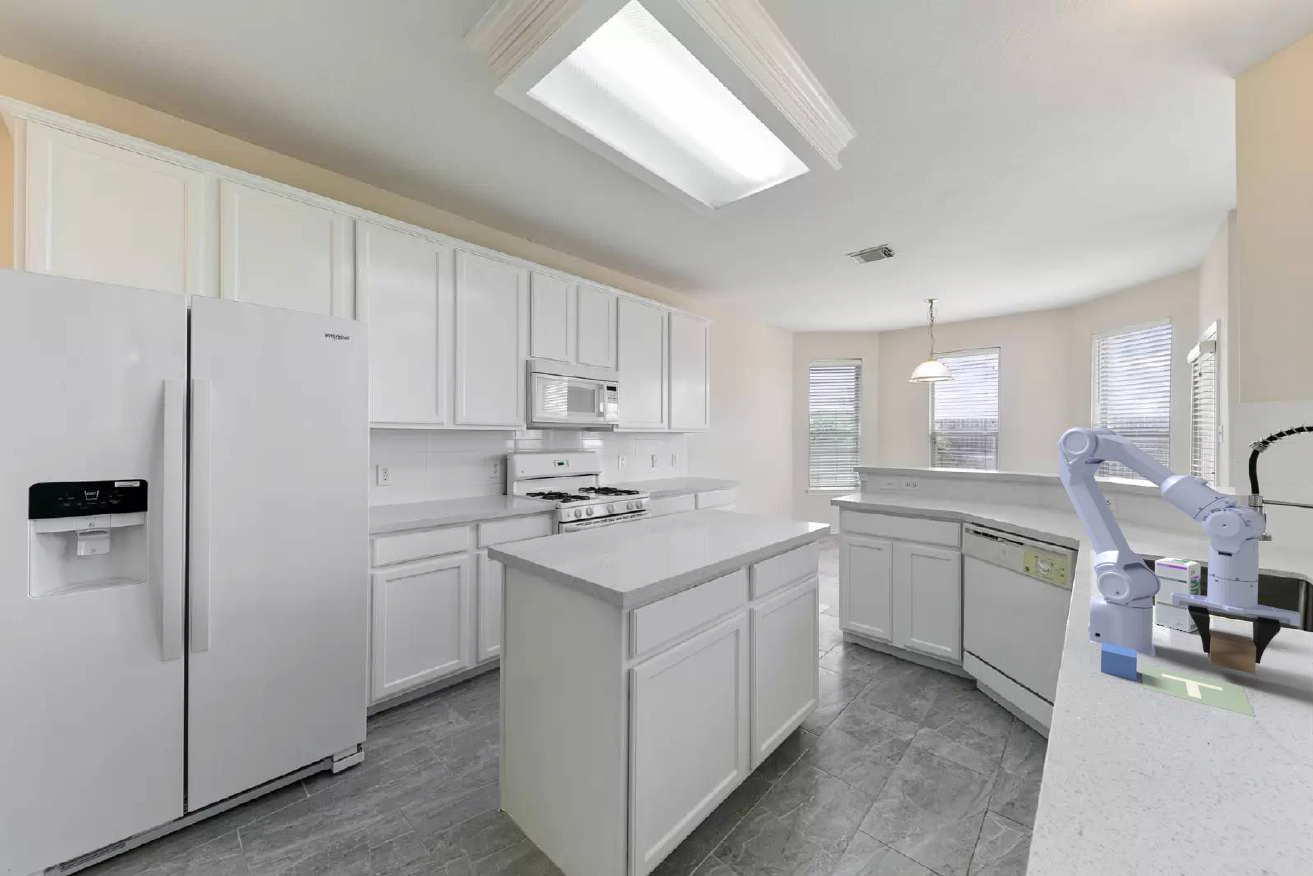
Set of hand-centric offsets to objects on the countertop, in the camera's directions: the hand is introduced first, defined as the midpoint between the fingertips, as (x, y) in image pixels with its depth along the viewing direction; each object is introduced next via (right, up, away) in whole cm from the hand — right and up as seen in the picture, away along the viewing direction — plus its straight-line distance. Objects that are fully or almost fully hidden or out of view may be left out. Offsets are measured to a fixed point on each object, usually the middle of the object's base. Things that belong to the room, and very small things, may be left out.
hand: (1230, 656), depth 87 cm
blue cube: (-18, -4, +2) cm, 18 cm away
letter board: (-10, -4, -4) cm, 12 cm away
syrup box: (+15, -4, +24) cm, 29 cm away
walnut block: (0, -1, 0) cm, 1 cm away
